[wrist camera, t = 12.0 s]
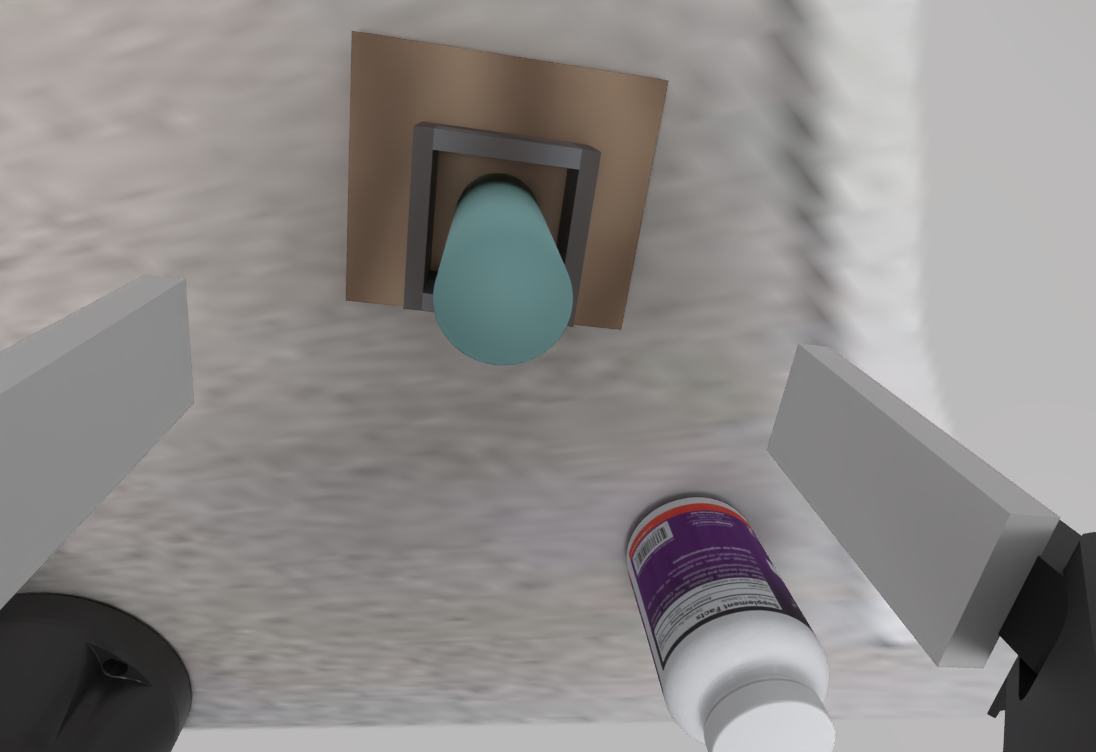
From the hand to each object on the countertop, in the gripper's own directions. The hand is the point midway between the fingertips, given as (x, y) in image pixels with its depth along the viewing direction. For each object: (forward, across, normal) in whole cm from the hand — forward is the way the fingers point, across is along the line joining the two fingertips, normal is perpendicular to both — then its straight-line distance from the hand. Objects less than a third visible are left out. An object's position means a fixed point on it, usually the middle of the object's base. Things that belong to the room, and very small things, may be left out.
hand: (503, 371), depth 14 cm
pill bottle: (+20, +14, -19) cm, 31 cm away
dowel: (+19, 0, 0) cm, 19 cm away
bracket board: (+20, 0, +1) cm, 20 cm away
